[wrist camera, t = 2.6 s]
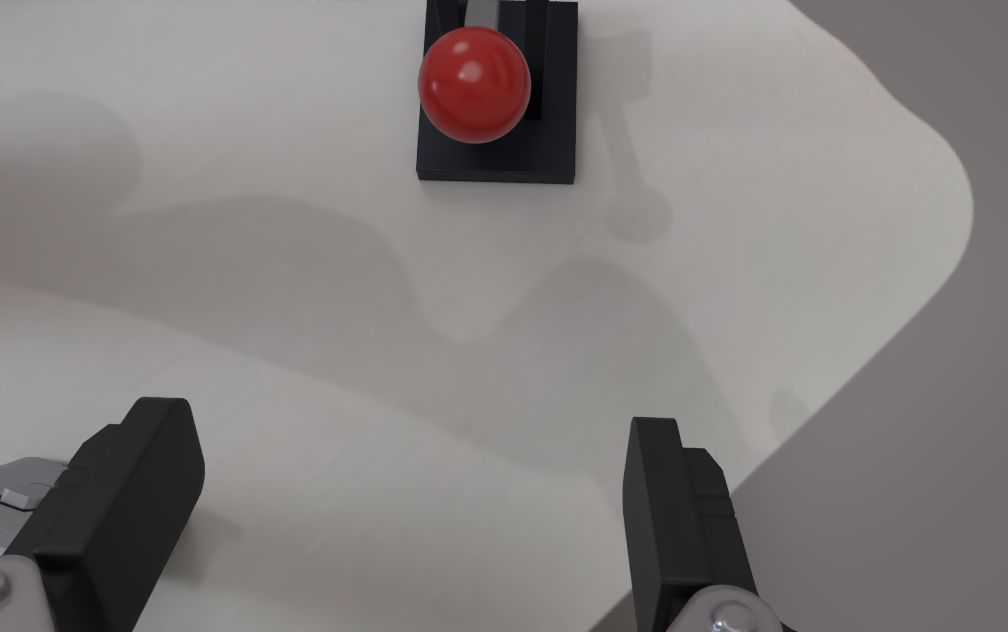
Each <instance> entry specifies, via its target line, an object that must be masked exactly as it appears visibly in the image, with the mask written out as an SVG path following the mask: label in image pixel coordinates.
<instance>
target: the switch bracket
mask: <svg viewBox="0 0 1008 632" xmlns="http://www.w3.org/2000/svg"><path fill="white" fill-rule="evenodd" d="M467 3H468V0H427V8H426V23H425V39H424V54H423V59H424V57H425V55H426V53H427V52H428V50H429V49H430V47H431V46H432V45H433V44H434V43H435V42H436V41H437V40H438V39H439V38H440V37H442V36H443V35H445V34H446V33H448V32H450V31H452V30H454V29H457V28H460V27H464V23H465V16H466V10H467ZM577 28H578V2H557V1H549V0H526V1H514V0H501V2H500V13H499V25H498V32H500V33H502V34H503V35H505V36H506V37H508V38H509V39H510V40H511V41H512V42H513V43H514V44H515V45H516V46H517V47H518V48H519V50H520V51H521V52H522V54H523V56H524V58H525V60H526V62H527V65H528V68H529V72H530V77H531V93H530V99H529V103H528V106H527V108H526V111H525V113H524V115H523V116H522V118H521V119H520V121H519V122H518V123H517V125H516V126H515V127H514V128H513V129H512V130H511V131H509V132H508V133H507V134H505V135H504V136H502V137H500V138H498V139H496V140H493V141H491V142H487V143H480V144H471V143H464V142H460V141H457V140H454V139H452V138H450V137H448V136H446V135H445V134H443V133H442V132H441V131H439V130H438V129H437V128H436V127H435V126H434V125H433V124H432V123H431V121H430V120H429V118H428V117H427V115H426V114H425V111H424V109H423V107H422V104H421V101H420V117H419V132H418V148H417V164H416V171H417V174H418V178H419V180H447V181H483V182H519V183H554V184H573V182H574V177H575V144H576V86H577Z"/></svg>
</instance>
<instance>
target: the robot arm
mask: <svg viewBox="0 0 1008 632" xmlns="http://www.w3.org/2000/svg"><path fill="white" fill-rule="evenodd" d="M204 477H205V464H204V458H203V454H202V450H201V446H200V442H199V438H198V435H197V431H196V427H195V423H194V419H193V415H192V411H191V407H190V405H189V403H188V401H187V400H186V399H184V398H162V397H141V398H139V399H138V400H137V401H136V402H135V404H134V405H133V406H132V408H131V409H130V411H129V412H128V414H127V415H126V417H125V418H124V420H123V421H122V422H121V424H108V425H107V426H106V427H104V428H103V429H102V430H100V431H99V432H97V433H96V434H95V435H93V436H92V437H91V438H89V439H88V440H87V441H85V442H84V443H83V444H82V446H81V447H80V448H79V450H78V451H77V452H76V454H75V455H74V457H73V458H72V459H71V461H70V462H69V463H68V465H67V470H63V472H62V473H61V474H60V476H59V477H58V479H57V480H56V481H55V483H54V488H50V490H49V491H48V492H47V494H46V495H45V497H44V498H43V499H42V501H41V502H40V503H39V505H38V506H37V508H36V509H35V510H34V512H33V513H32V514H31V516H30V517H29V519H28V520H27V521H26V523H25V524H24V525H23V527H22V528H21V530H20V531H19V532H18V534H17V535H16V537H15V538H14V539H13V541H12V542H11V543H10V545H9V546H8V548H7V549H6V550H5V552H4V553H3V554H2V556H0V632H132V631H133V629H134V627H135V625H136V623H137V621H138V619H139V617H140V615H141V613H142V611H143V609H144V607H145V605H146V603H147V601H148V599H149V597H150V595H151V593H152V591H153V589H154V587H155V585H156V583H157V581H158V579H159V577H160V575H161V573H162V571H163V569H164V567H165V565H166V563H167V561H168V559H169V557H170V555H171V553H172V551H173V549H174V547H175V545H176V543H177V541H178V539H179V537H180V535H181V533H182V531H183V529H184V527H185V525H186V523H187V521H188V518H189V516H190V514H191V512H192V510H193V508H194V506H195V504H196V502H197V500H198V498H199V496H200V494H201V491H202V488H203V483H204ZM734 514H735V512H734V509H733V505H732V502H731V498H729V491H728V487H727V484H726V480H725V477H724V473H723V470H722V469H721V467H720V466H719V465H718V464H717V463H716V461H715V460H714V459H713V458H712V457H711V455H710V454H709V453H708V452H707V451H706V449H705V448H683V447H682V443H681V439H680V434H679V430H678V425H677V422H676V420H675V419H674V418H653V417H633V419H632V422H631V428H630V435H629V442H628V450H627V457H626V464H625V471H624V479H623V516H624V524H625V532H626V541H627V549H628V557H629V565H630V573H631V581H632V590H633V597H634V606H635V614H636V622H637V630H638V632H797V631H794V630H793V629H791V628H789V627H788V626H786V625H785V624H783V623H782V622H780V621H779V619H778V617H777V615H776V614H775V612H774V611H773V609H771V607H770V606H769V605H768V604H767V603H766V602H765V601H764V600H762V599H761V598H760V597H759V595H758V592H757V590H756V586H755V583H754V580H753V576H752V572H751V569H750V565H749V562H748V559H747V555H746V551H745V548H744V544H743V540H742V537H741V533H740V530H739V526H738V523H737V519H736V518H735V516H734Z"/></svg>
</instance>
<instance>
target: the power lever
mask: <svg viewBox="0 0 1008 632" xmlns="http://www.w3.org/2000/svg"><path fill="white" fill-rule="evenodd" d="M500 2H501V0H468V3H467V10H466V16H465V23H464V27H460V28H457V29H454V30H452V31H450V32H448V33H446V34H445V35H443V36H442V37H440V38H439V39H438V40H437V41H436V42H435V43H434V44H433V45H432V46H431V47H430V49H429V50H428V52H427V53H426V55H425V57H424V59H423V61H422V64H421V67H420V71H419V77H418V91H419V97H420V101H421V104H422V107H423V109H424V111H425V114H426V115H427V117H428V118H429V120H430V121H431V123H432V124H433V125H434V126H435V127H436V128H437V129H438V130H439V131H441V132H442V133H443V134H445V135H446V136H448V137H450V138H452V139H454V140H457V141H460V142H464V143H471V144H480V143H487V142H491V141H493V140H496V139H498V138H500V137H502V136H504V135H505V134H507V133H508V132H509V131H511V130H512V129H513V128H514V127H515V126H516V125H517V123H518V122H519V121H520V119H521V118H522V116H523V115H524V113H525V111H526V108H527V106H528V103H529V99H530V93H531V77H530V72H529V68H528V65H527V62H526V60H525V58H524V56H523V54H522V52H521V51H520V50H519V48H518V47H517V46H516V45H515V44H514V43H513V42H512V41H511V40H510V39H509V38H508V37H506V36H505V35H503V34H502V33H500V32H498V25H499V13H500Z"/></svg>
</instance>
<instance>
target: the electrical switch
mask: <svg viewBox="0 0 1008 632" xmlns="http://www.w3.org/2000/svg"><path fill="white" fill-rule="evenodd" d="M63 470H67V467H66V466H63V465H60V464H57V463H54V462H52V461H49V460H46V459H42V458H38V457H26V458H23V459H20V460H17V461H14V462H11V463H8V464H5V465H2V466H0V556H2V554H3V553H4V552H5V550H6V549H7V548H8V546H9V545H10V543H11V542H12V541H13V539H14V538H15V537H16V535H17V534H18V532H19V531H20V530H21V528H22V527H23V525H24V524H25V523H26V521H27V520H28V519H29V517H30V516H31V514H32V513H33V512H34V510H35V509H36V508H37V506H38V505H39V503H40V502H41V501H42V499H43V498H44V497H45V495H46V494H47V492H48V491H49V490H50V488H54V483H55V481H56V480H57V479H58V477H59V476H60V474H61V473H62V472H63Z"/></svg>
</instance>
